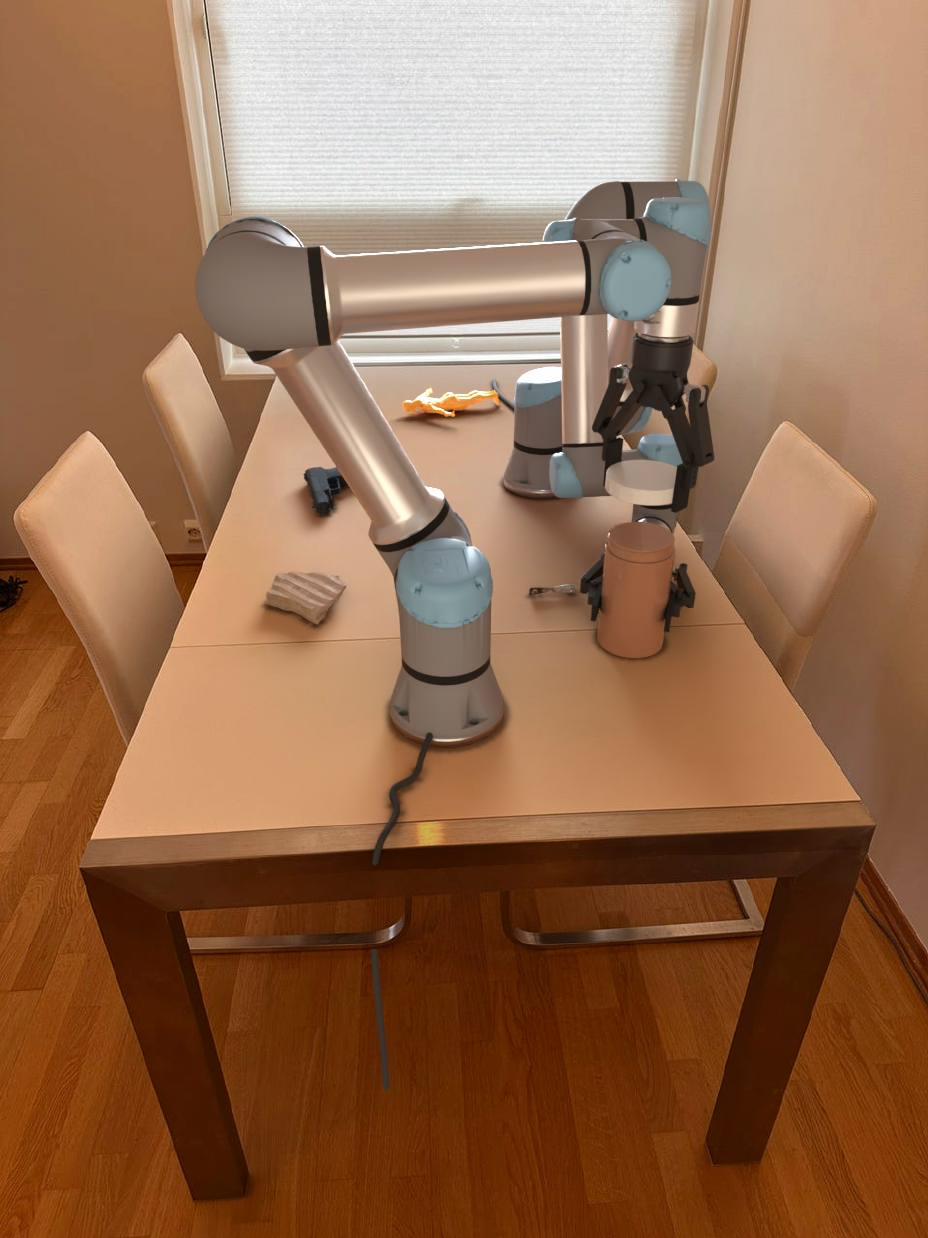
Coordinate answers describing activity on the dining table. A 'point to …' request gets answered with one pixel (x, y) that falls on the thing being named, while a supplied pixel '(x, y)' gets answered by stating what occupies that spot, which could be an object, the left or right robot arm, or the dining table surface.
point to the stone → (305, 593)
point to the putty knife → (553, 589)
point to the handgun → (324, 487)
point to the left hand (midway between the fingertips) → (644, 496)
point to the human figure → (448, 402)
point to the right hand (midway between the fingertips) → (630, 618)
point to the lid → (641, 482)
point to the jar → (635, 589)
